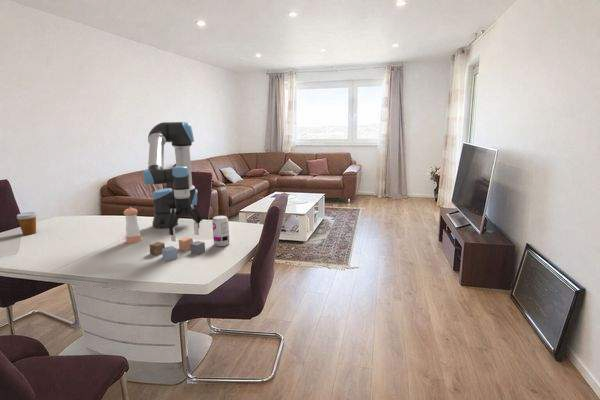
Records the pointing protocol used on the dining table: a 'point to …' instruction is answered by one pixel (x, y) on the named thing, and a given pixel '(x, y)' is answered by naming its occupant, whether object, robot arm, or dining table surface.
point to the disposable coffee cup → (27, 222)
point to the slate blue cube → (169, 253)
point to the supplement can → (220, 230)
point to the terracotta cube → (185, 243)
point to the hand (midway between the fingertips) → (185, 237)
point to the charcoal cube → (197, 247)
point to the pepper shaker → (132, 226)
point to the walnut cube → (156, 248)
